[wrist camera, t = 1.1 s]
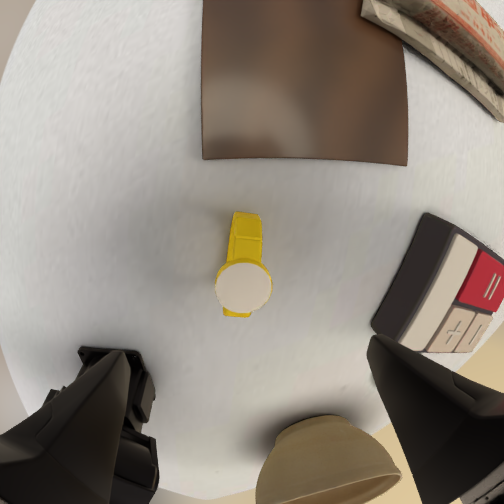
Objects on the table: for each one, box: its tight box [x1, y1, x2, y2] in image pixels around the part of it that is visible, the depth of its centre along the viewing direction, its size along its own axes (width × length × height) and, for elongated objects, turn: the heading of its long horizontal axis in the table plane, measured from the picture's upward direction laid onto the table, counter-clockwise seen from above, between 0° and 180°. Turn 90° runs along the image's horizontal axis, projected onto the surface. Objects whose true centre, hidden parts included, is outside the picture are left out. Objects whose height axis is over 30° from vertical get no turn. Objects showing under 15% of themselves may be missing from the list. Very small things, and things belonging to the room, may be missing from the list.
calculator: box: [371, 213, 504, 353], centre depth 20 cm, size 11×4×15 cm
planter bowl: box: [256, 415, 402, 504], centre depth 23 cm, size 16×16×11 cm
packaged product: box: [361, 0, 504, 123], centre depth 10 cm, size 18×5×10 cm
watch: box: [215, 212, 272, 318], centre depth 16 cm, size 6×3×6 cm, turn 171°
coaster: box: [201, 0, 408, 166], centre depth 14 cm, size 14×14×1 cm
